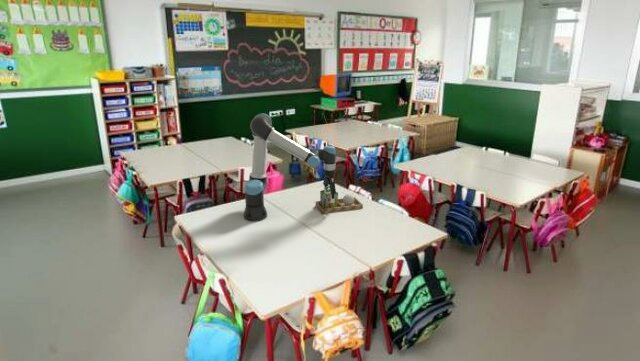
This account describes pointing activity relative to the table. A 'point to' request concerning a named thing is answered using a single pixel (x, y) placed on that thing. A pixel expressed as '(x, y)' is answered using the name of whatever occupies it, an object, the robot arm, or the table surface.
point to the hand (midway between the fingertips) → (329, 199)
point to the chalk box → (327, 199)
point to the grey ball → (348, 199)
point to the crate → (340, 206)
